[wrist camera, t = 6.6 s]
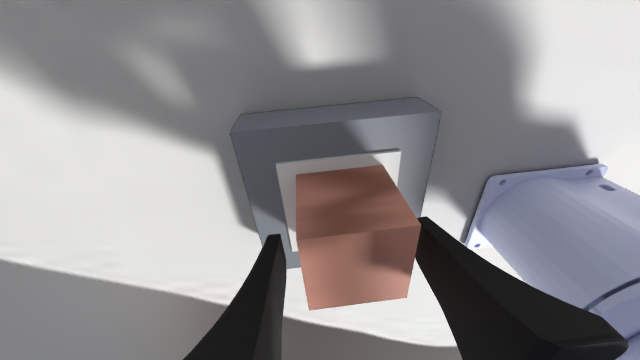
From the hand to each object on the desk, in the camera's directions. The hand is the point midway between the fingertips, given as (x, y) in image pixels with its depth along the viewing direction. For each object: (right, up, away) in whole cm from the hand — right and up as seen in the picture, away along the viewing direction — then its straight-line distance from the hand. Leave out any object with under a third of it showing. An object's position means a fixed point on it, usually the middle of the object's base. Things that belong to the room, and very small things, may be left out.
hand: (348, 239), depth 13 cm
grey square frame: (-1, +3, +5) cm, 6 cm away
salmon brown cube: (0, +2, +2) cm, 3 cm away
